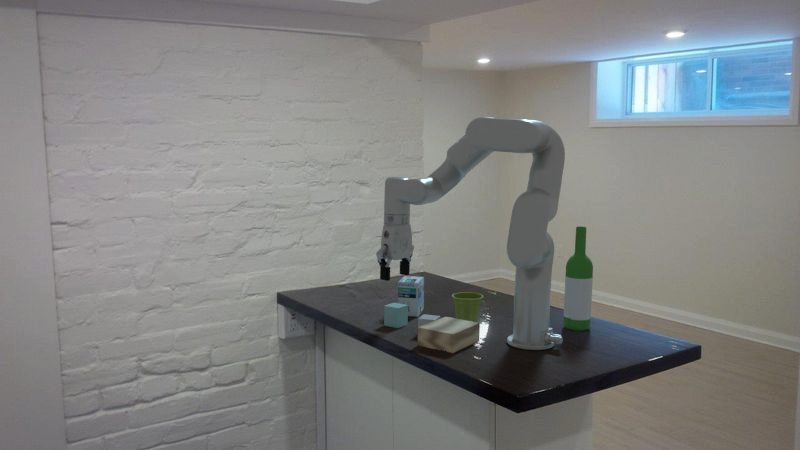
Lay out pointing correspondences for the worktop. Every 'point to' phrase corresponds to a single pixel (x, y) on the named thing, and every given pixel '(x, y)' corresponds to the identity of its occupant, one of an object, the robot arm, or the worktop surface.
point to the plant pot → (467, 305)
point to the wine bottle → (578, 286)
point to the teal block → (396, 315)
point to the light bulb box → (412, 294)
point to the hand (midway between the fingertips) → (394, 277)
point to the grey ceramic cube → (427, 319)
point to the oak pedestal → (448, 334)
